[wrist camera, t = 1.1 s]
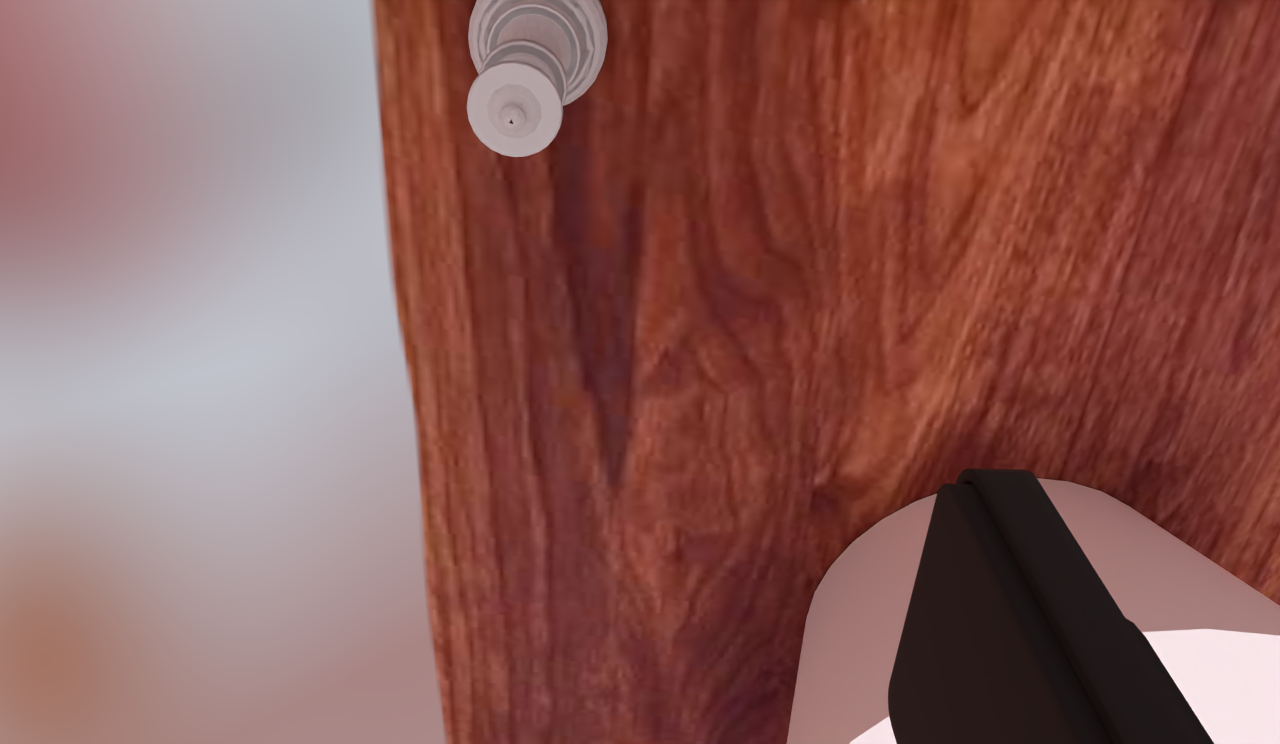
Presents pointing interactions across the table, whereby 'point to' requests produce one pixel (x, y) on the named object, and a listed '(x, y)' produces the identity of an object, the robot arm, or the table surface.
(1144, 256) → the table surface
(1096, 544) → the white tapered cylinder
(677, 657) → the table surface
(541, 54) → the chess piece
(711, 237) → the table surface
